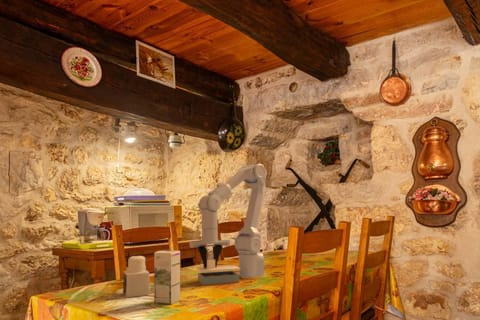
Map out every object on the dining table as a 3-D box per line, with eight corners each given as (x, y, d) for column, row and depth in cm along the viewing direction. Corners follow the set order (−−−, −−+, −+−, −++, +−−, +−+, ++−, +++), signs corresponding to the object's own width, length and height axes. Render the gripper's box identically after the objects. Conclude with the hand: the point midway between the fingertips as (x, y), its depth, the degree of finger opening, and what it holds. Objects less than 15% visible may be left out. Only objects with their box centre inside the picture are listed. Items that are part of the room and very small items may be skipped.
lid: (232, 266, 144) (232, 256, 145) (240, 270, 135) (240, 259, 136) (196, 268, 140) (196, 258, 141) (202, 272, 131) (202, 261, 132)
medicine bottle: (122, 293, 123) (123, 255, 125) (145, 291, 126) (145, 253, 127) (125, 298, 117) (126, 257, 118) (149, 295, 120) (149, 256, 121)
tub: (231, 279, 143) (231, 270, 144) (239, 283, 135) (239, 274, 135) (197, 282, 139) (197, 273, 140) (203, 286, 131) (203, 277, 131)
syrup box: (181, 300, 113) (180, 249, 114) (171, 305, 107) (171, 252, 109) (163, 299, 114) (164, 249, 116) (153, 303, 109) (153, 251, 111)
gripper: (225, 227, 145) (226, 264, 143) (187, 228, 140) (188, 266, 138) (231, 228, 138) (232, 266, 136) (191, 229, 133) (191, 269, 132)
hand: (210, 267), depth 137 cm, fingers closed on lid, 3 cm apart
